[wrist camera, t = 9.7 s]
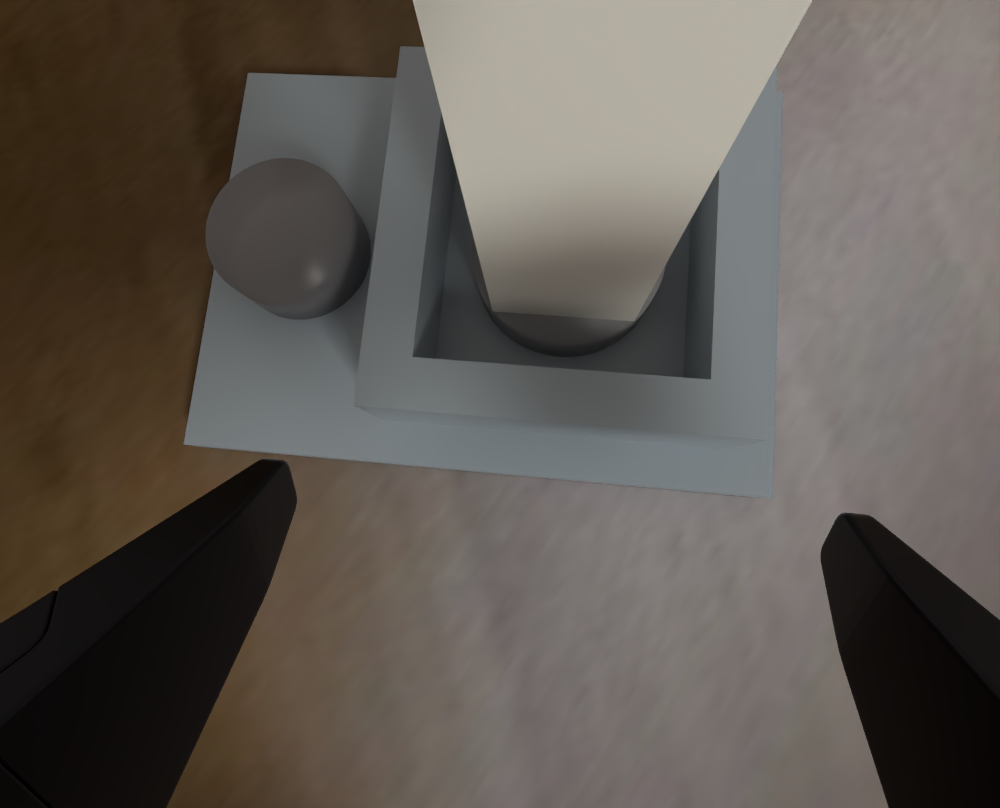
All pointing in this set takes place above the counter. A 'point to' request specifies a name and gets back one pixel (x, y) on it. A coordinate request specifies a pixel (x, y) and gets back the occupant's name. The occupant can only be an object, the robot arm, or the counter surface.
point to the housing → (468, 309)
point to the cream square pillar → (590, 144)
